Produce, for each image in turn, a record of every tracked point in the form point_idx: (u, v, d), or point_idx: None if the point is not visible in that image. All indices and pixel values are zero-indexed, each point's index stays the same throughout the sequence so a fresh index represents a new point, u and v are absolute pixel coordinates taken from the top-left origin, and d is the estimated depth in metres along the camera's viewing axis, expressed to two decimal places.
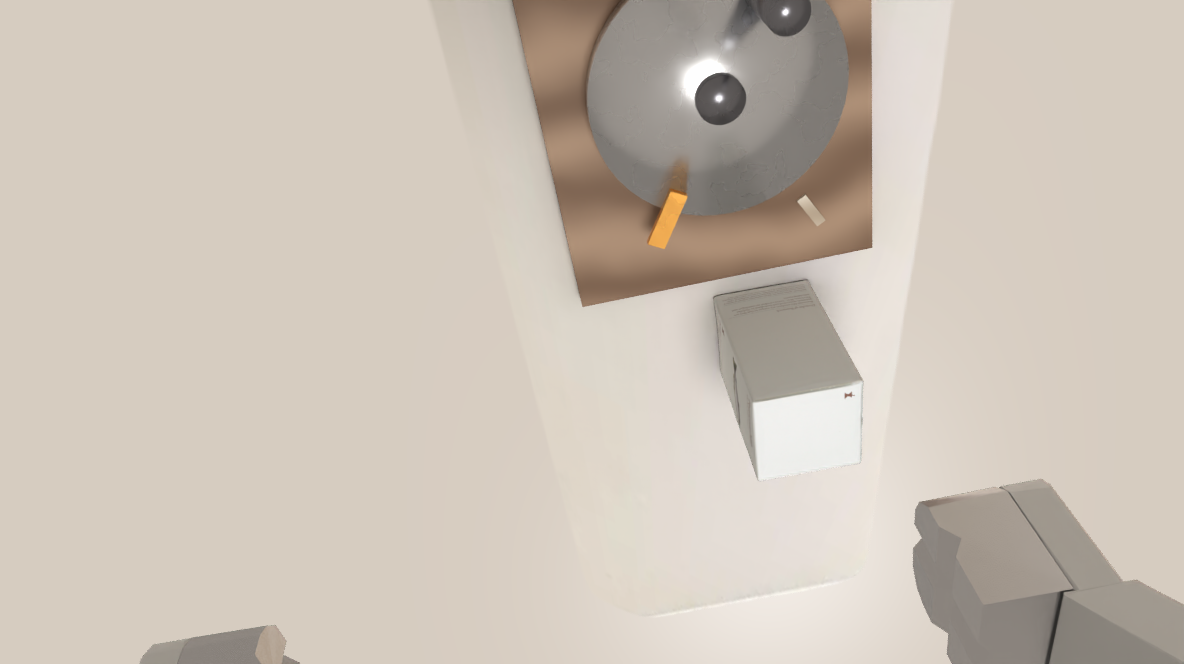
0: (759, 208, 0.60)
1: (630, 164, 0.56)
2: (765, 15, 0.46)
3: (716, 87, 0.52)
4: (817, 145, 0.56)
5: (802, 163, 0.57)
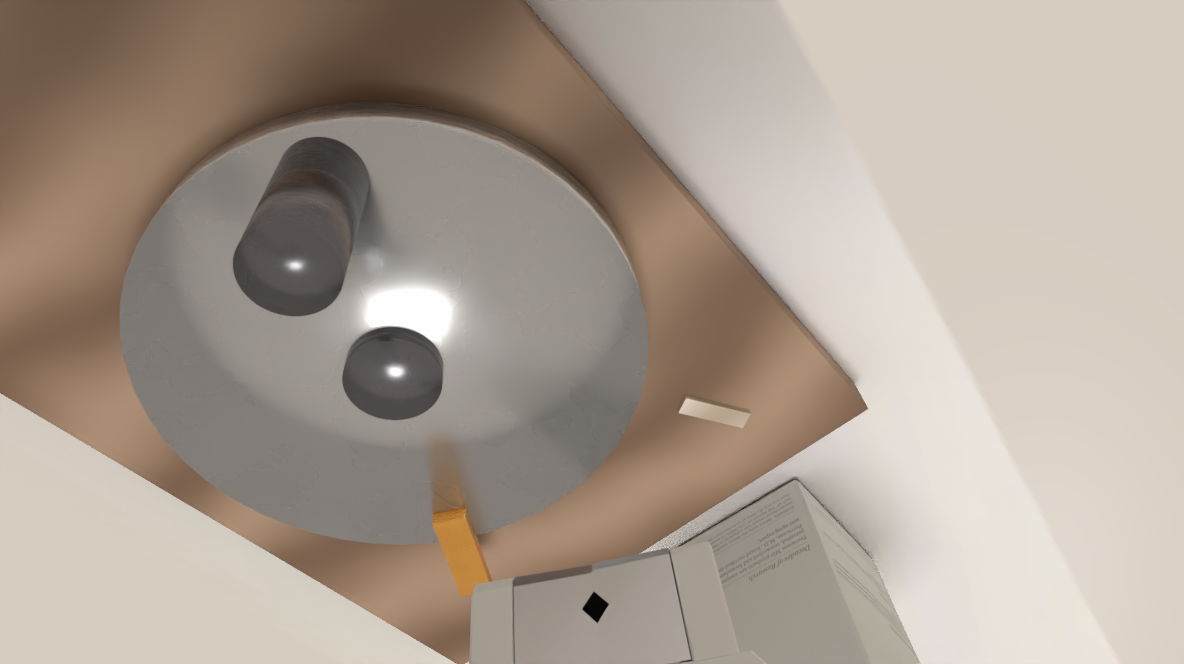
0: (623, 447, 0.33)
1: (343, 514, 0.31)
2: None
3: (365, 369, 0.27)
4: (630, 346, 0.28)
5: (626, 382, 0.29)
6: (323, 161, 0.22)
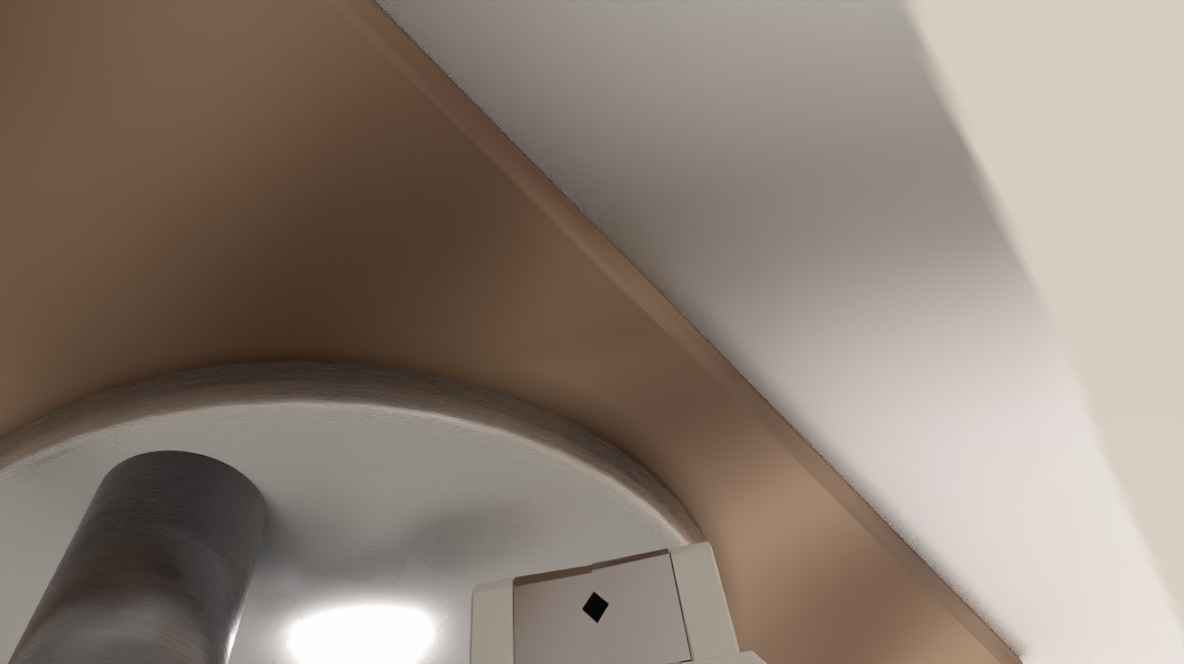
0: None
1: None
2: None
3: None
4: None
5: None
6: (160, 529, 0.11)
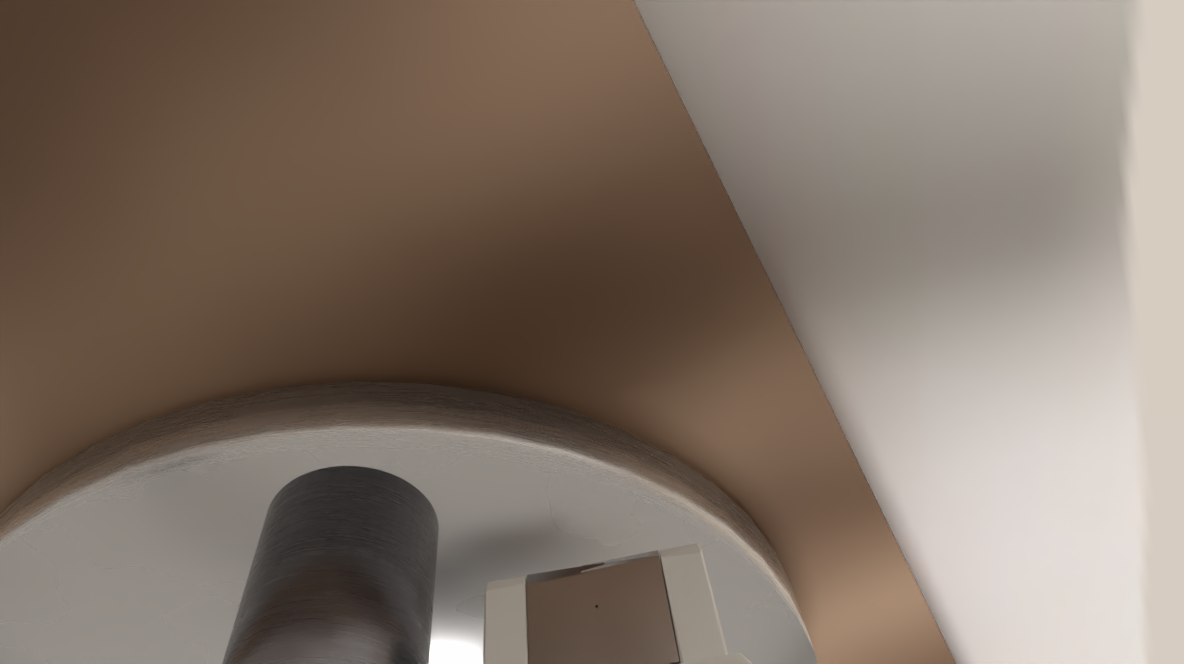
0: None
1: None
2: None
3: None
4: None
5: None
6: (376, 555, 0.11)
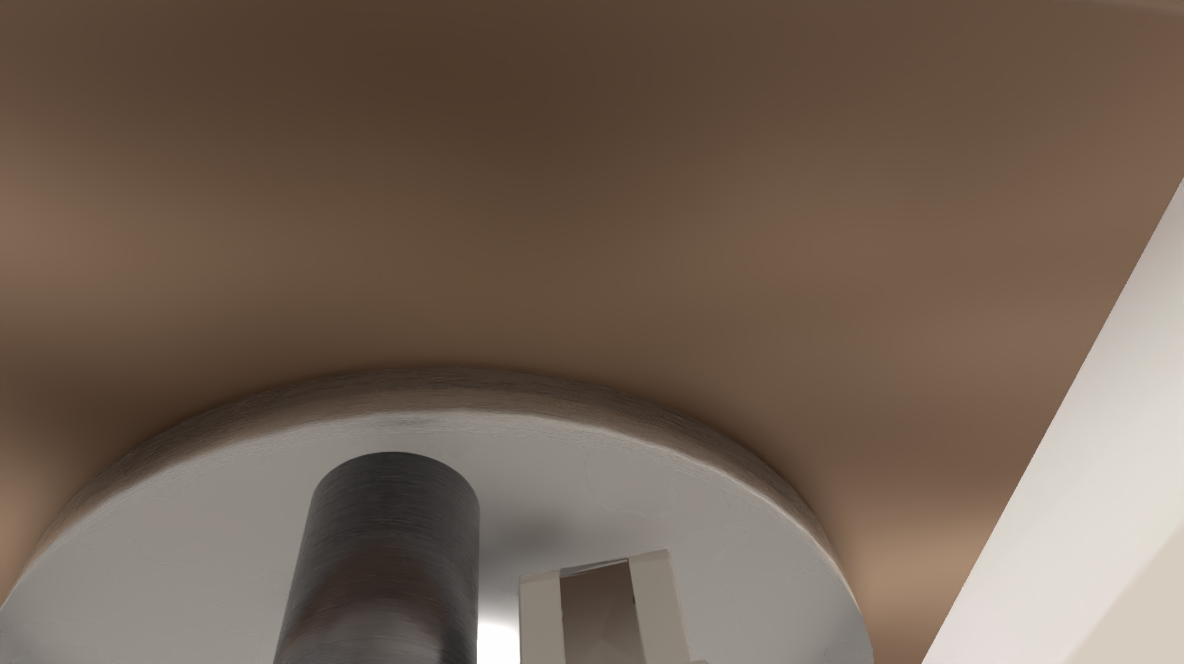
0: None
1: None
2: None
3: None
4: None
5: None
6: (419, 537, 0.11)
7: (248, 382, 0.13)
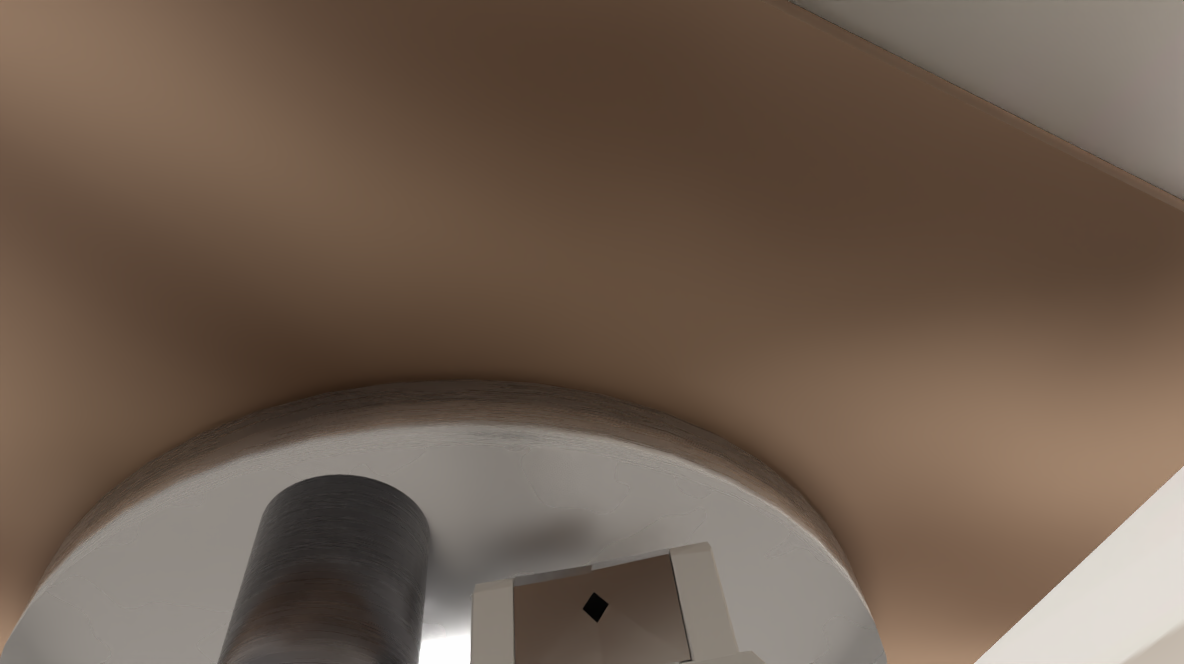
0: None
1: None
2: None
3: None
4: None
5: None
6: (346, 559, 0.11)
7: (428, 366, 0.13)
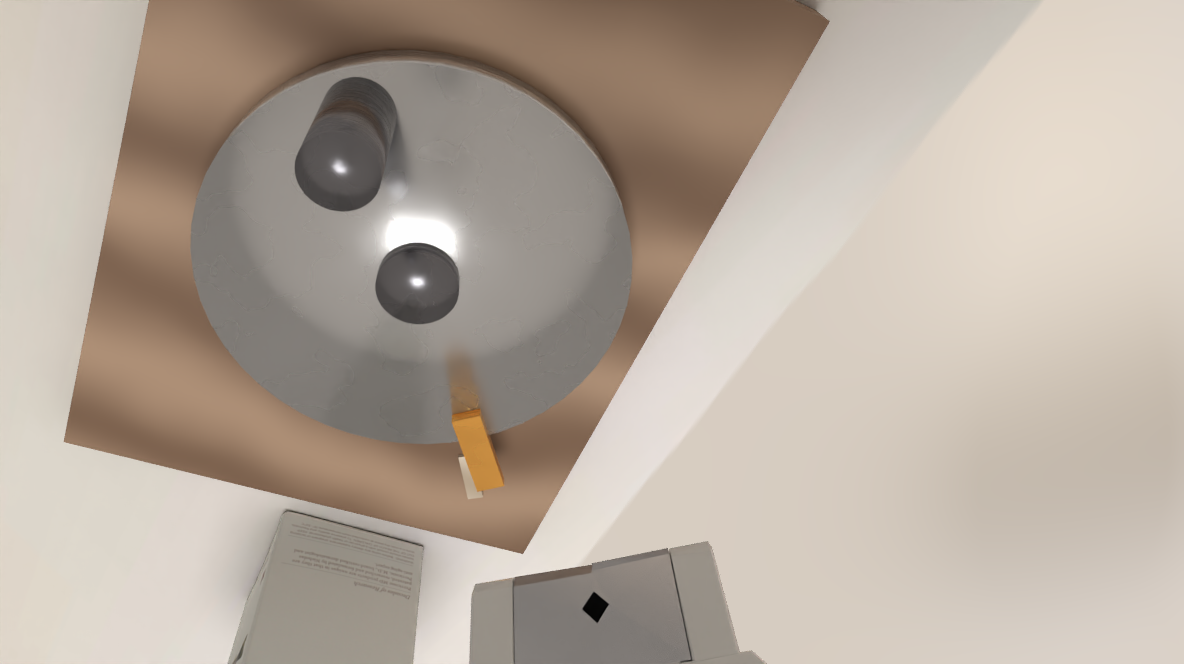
0: None
1: (375, 415, 0.36)
2: (309, 194, 0.25)
3: (394, 277, 0.32)
4: (617, 258, 0.33)
5: (614, 291, 0.34)
6: (361, 93, 0.27)
7: (396, 45, 0.30)
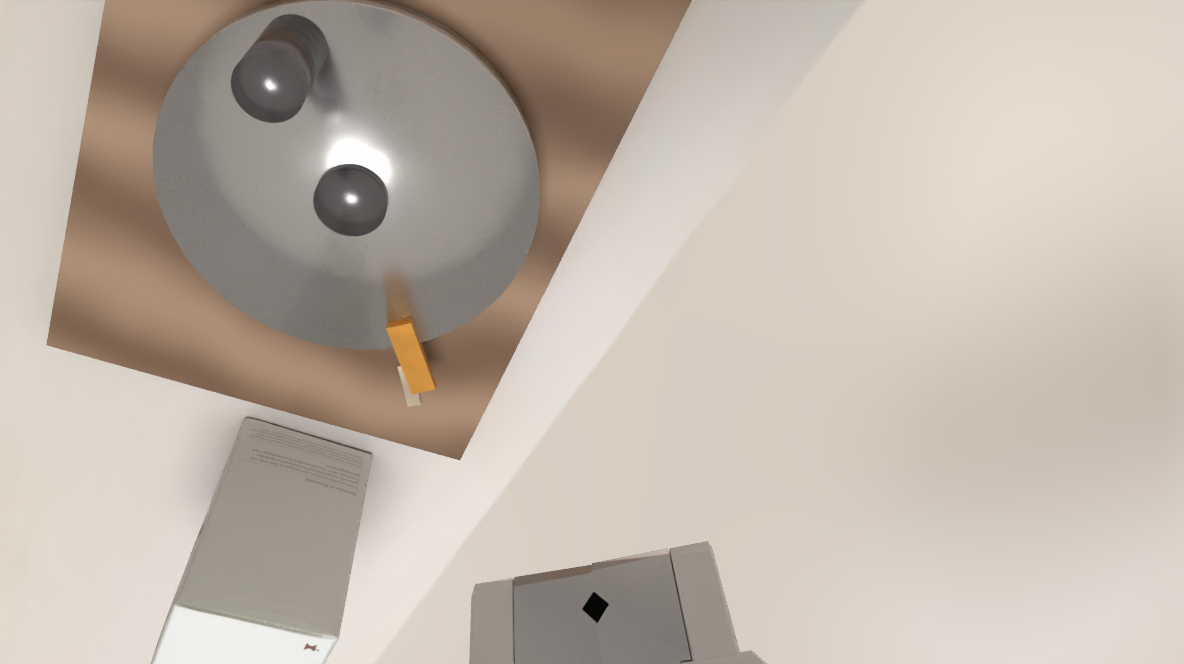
0: (348, 349, 0.44)
1: (319, 322, 0.41)
2: (244, 108, 0.30)
3: (329, 193, 0.37)
4: (526, 180, 0.38)
5: (525, 211, 0.39)
6: (293, 26, 0.32)
7: None
